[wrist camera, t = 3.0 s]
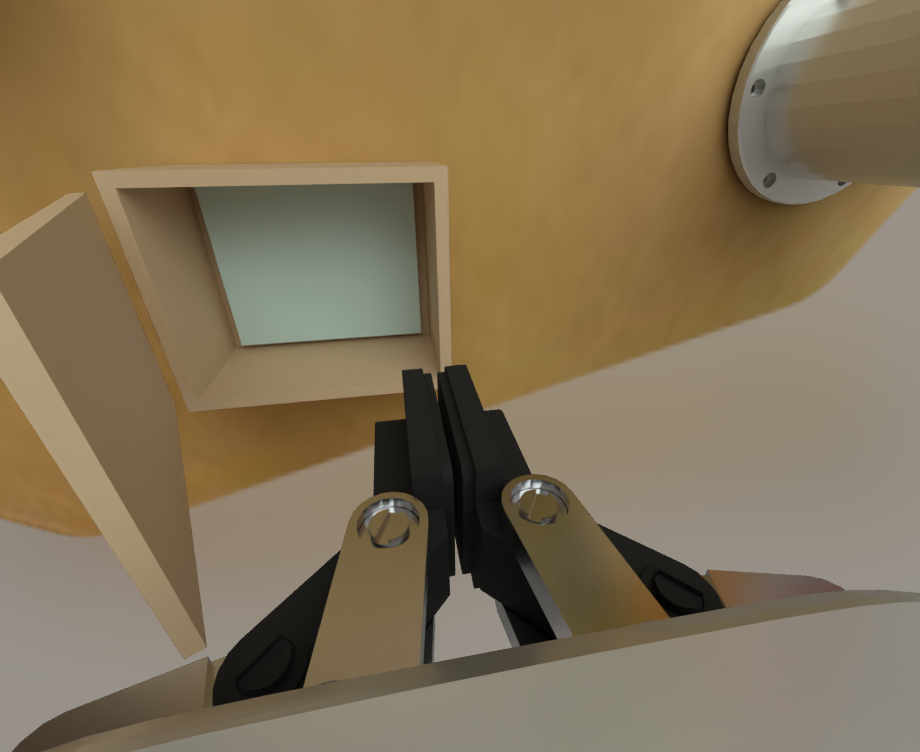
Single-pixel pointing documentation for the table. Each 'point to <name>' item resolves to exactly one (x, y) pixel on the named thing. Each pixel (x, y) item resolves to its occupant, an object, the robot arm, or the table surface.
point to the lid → (100, 402)
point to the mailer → (289, 275)
